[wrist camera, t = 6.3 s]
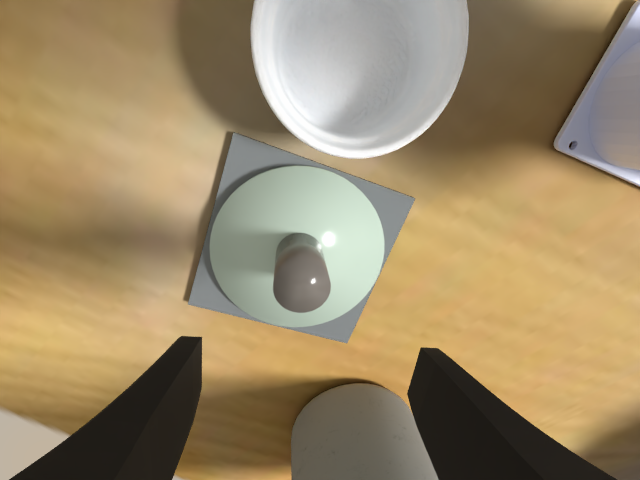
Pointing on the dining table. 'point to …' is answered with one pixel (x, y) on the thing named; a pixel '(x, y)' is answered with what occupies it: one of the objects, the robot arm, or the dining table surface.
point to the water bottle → (358, 437)
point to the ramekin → (358, 68)
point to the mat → (259, 157)
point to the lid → (296, 246)
